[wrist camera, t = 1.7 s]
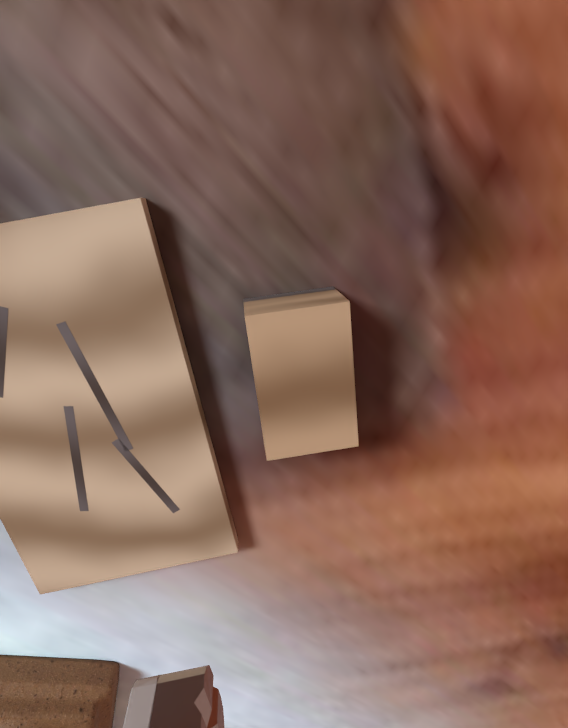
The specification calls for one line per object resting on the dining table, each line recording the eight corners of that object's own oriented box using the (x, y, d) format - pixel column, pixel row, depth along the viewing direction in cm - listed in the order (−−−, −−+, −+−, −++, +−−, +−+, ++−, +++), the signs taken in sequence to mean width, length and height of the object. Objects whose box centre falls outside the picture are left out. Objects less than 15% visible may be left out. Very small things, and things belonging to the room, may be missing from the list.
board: (-121, 246, 21) (-141, 249, 20) (145, 198, 21) (140, 197, 20) (47, 579, 29) (39, 594, 28) (238, 538, 29) (238, 552, 28)
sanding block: (243, 297, 24) (244, 316, 20) (332, 285, 24) (349, 301, 20) (262, 424, 27) (266, 460, 23) (341, 412, 27) (358, 446, 23)
